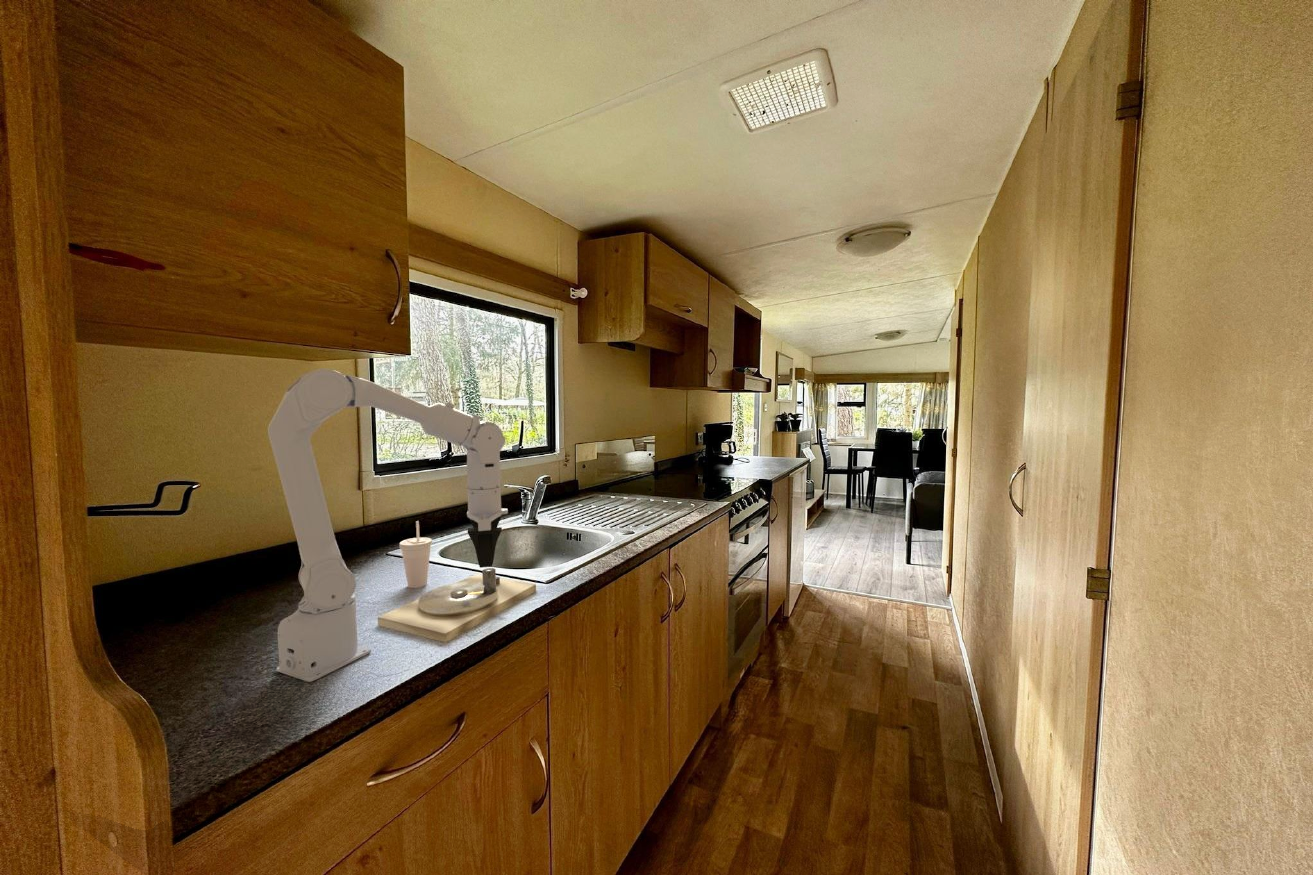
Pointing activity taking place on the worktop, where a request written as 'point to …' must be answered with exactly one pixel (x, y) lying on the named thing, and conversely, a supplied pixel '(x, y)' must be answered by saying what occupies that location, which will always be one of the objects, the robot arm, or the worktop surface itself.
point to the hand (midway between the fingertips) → (486, 560)
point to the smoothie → (416, 559)
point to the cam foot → (460, 596)
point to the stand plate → (452, 626)
